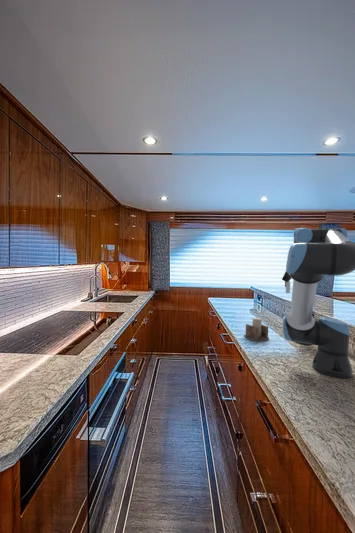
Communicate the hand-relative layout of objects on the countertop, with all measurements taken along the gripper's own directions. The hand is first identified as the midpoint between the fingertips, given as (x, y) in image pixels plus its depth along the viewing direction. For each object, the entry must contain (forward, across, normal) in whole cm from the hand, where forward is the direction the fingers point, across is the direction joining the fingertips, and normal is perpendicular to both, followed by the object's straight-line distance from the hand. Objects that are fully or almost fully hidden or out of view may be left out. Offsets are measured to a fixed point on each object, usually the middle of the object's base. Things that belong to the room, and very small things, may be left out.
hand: (298, 294), depth 128 cm
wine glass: (+31, +7, -18) cm, 36 cm away
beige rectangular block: (+30, +25, +4) cm, 39 cm away
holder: (+31, +25, +4) cm, 40 cm away
